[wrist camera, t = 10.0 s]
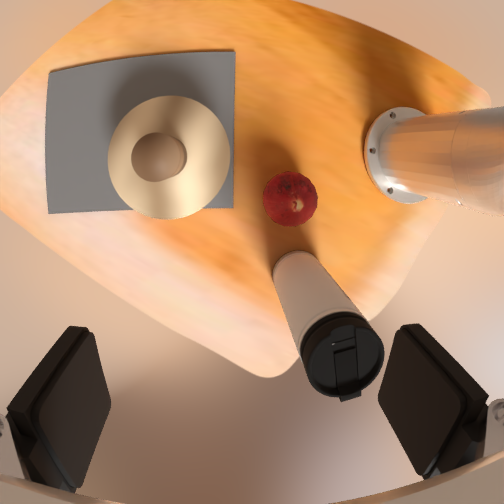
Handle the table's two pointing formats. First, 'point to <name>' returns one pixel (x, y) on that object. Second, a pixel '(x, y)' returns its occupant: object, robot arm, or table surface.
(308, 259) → the travel mug
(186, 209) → the lid
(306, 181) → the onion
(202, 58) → the mat
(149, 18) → the table surface
